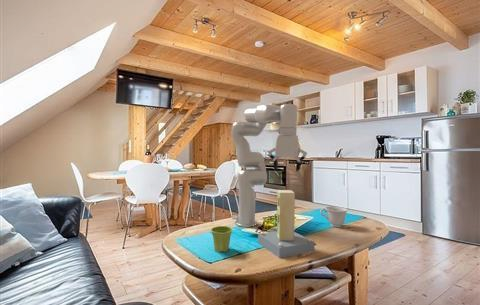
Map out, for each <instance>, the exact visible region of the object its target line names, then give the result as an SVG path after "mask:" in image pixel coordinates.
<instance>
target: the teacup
mask: <svg viewBox="0 0 480 305" xmlns="http://www.w3.org/2000/svg"><path fill="white" fill-rule="evenodd" d="M323 211H324V213H326V215H325V214H324V213H323ZM348 211H349V210H348V209H347V208H345V207H341V206H334V205H333V206H326V207H325V208H324V207H321V209H320V211H319V212H320V215H321V216H323V217H324V218H326V219H327V221H328V223H329V224H330V226H331V227H333V228H342V225H343V224H345V221H346V215H347V212H348Z"/></svg>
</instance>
